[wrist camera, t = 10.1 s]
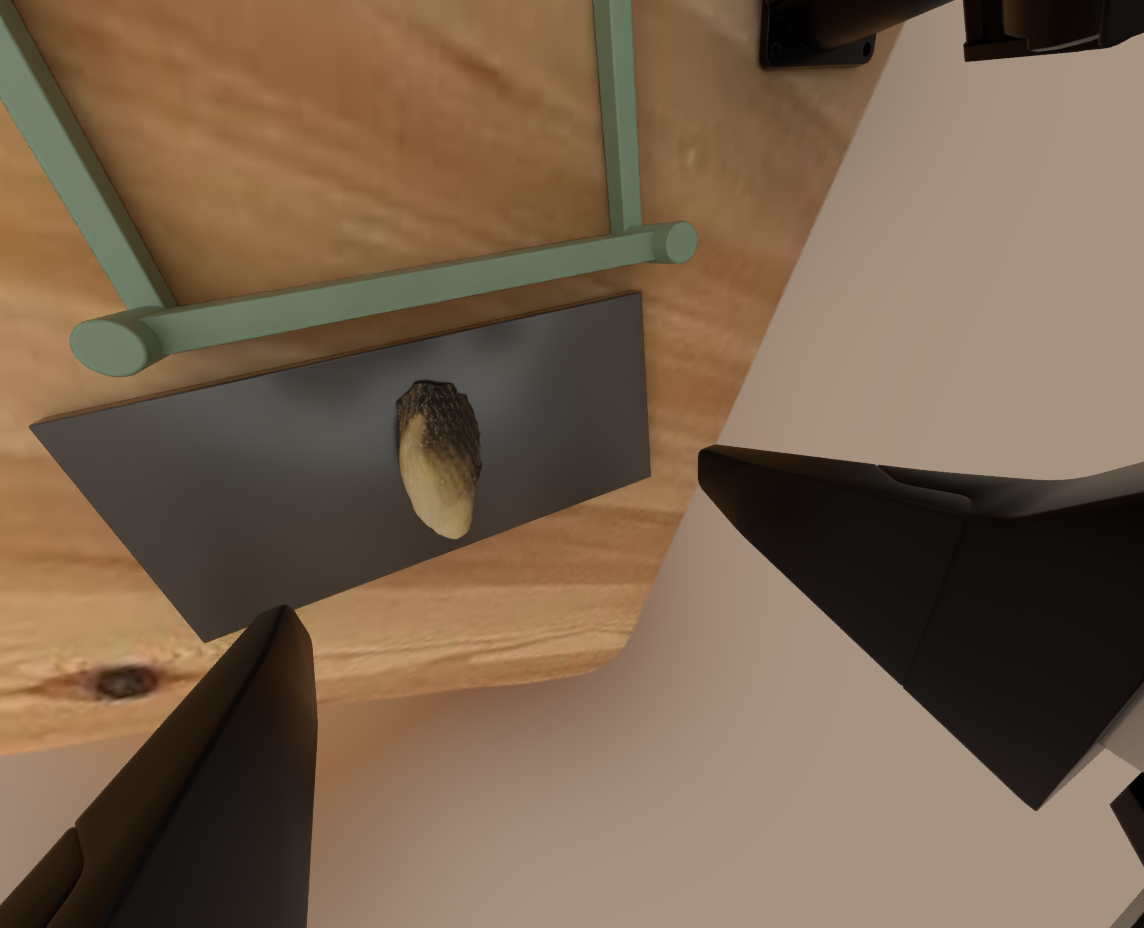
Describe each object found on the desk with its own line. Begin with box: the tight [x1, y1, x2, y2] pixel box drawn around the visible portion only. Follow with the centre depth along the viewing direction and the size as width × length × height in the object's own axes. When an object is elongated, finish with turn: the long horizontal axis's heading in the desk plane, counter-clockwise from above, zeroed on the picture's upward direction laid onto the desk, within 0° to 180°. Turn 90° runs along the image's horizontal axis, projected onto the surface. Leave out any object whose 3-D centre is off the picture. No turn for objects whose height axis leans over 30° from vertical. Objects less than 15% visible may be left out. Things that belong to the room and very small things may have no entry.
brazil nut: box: [396, 383, 483, 539], centre depth 18 cm, size 6×5×3 cm
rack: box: [0, 0, 697, 377], centre depth 12 cm, size 18×15×4 cm
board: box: [29, 291, 651, 643], centre depth 19 cm, size 22×10×1 cm, turn 99°
